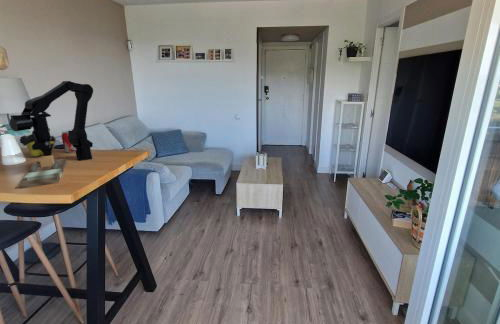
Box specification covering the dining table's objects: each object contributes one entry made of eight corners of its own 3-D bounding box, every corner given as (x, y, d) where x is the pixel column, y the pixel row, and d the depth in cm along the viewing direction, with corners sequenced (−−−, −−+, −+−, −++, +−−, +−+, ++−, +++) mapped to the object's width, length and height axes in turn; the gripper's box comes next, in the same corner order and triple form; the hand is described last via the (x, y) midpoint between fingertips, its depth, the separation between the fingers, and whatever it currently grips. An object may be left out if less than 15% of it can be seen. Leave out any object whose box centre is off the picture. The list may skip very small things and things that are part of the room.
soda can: (68, 153, 157) (64, 133, 154) (62, 152, 161) (58, 132, 158) (81, 151, 163) (77, 131, 160) (75, 149, 167) (71, 130, 163)
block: (54, 163, 130) (52, 155, 129) (53, 165, 127) (51, 157, 125) (43, 164, 129) (41, 156, 127) (41, 167, 125) (39, 158, 123)
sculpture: (25, 151, 157) (30, 128, 156) (51, 156, 164) (57, 134, 164) (21, 156, 145) (27, 132, 144) (50, 161, 152) (56, 138, 151)
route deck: (66, 163, 139) (64, 154, 138) (58, 182, 112) (55, 172, 111) (38, 166, 134) (35, 158, 133) (21, 188, 107) (18, 177, 105)
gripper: (24, 126, 130) (32, 157, 135) (12, 132, 114) (22, 168, 119) (52, 124, 135) (59, 154, 140) (45, 130, 119) (53, 164, 124)
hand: (48, 160), depth 130 cm, fingers closed
